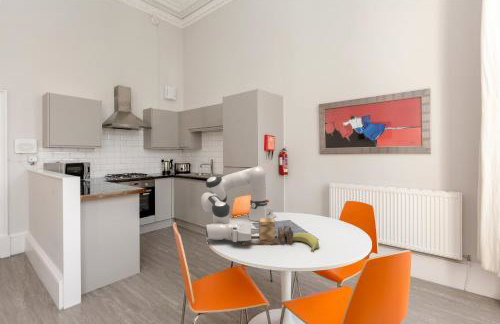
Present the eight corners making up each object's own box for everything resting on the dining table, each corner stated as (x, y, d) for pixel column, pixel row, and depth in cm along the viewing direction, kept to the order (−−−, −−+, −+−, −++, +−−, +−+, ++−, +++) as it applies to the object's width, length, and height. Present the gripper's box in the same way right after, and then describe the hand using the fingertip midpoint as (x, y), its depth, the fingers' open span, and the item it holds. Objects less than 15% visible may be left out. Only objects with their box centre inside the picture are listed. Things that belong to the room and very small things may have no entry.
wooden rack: (242, 245, 140) (242, 228, 140) (242, 238, 152) (242, 221, 152) (294, 245, 140) (294, 227, 140) (290, 237, 153) (290, 221, 152)
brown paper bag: (259, 243, 143) (259, 222, 142) (259, 238, 151) (258, 218, 150) (274, 243, 143) (274, 221, 142) (273, 238, 151) (273, 218, 150)
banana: (308, 226, 150) (322, 242, 130) (310, 235, 151) (324, 252, 131) (285, 233, 149) (296, 251, 129) (288, 242, 150) (299, 261, 130)
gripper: (235, 231, 156) (258, 231, 157) (233, 243, 136) (260, 243, 136) (235, 220, 156) (258, 220, 156) (233, 231, 136) (260, 230, 136)
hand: (259, 231), depth 146 cm, fingers closed
